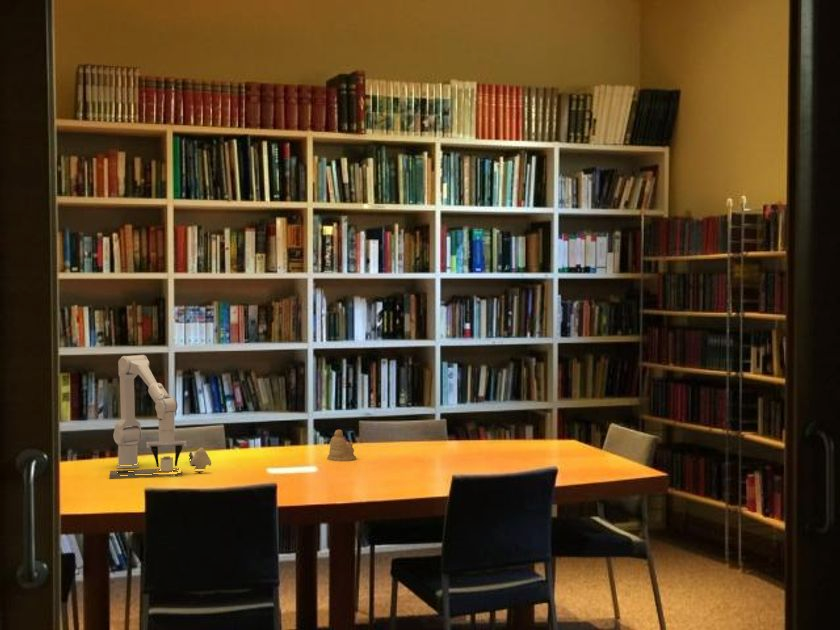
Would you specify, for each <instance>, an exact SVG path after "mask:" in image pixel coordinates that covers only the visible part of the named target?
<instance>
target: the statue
mask: <svg viewBox="0 0 840 630" xmlns="http://www.w3.org/2000/svg"><path fill="white" fill-rule="evenodd" d="M334 431H335V432H334V436H332V437H331V439H330V443H329V446H330V447H329V454H328V455H327V460H328V461H332V462H342V463H343V462H353V461H356V460H357V456H356V455H355V449H354V447H353V445H354V444H353V443H352V442H348V443H347V441H346V440H345V439H344V438H343V437H344V434H343V430H341V429H336V430H334Z"/></svg>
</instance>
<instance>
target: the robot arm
mask: <svg viewBox="0 0 840 630" xmlns="http://www.w3.org/2000/svg"><path fill="white" fill-rule="evenodd" d="M117 363H118V367H117V368H118V377H119V394H120V397H119V399H120V420H119V421H118V422H116V423H115V424H114V429H113V430H114V431H113V434H112V435H113V440H114V442H115V444H116V445H117V446H118V447H117V448H118V449H117V451H118V452H117V454H118V458H117V461H118V463H117V466H116V468H117V469H135V468H137V469H138V468H139V467H140V465H139V463H140V462H138V460H139V459H138V444H140V441H141V440H142V437H143V431H142V427H141V422H139V421H138V420H137V419H136V415H135V414H136V413H135V412H136V410H135V409H136V408H135V378H136V377H137V376H139V377H140V378H141V379H142V381H143V382H144V383H145V384H146V386H147V387H148V390H147V392H148V394H149V395H150V397H151V399H152V400H153V402H154V403H155V405H154V406H155V407H154V409H155V411H156V417H157V419H158V441H157V440H155V441H146V448H147V449H149V448H150V450H151V452H152V454H153V455H152V456H153V457H154V460H155V464H156V468H159V464H160V463H159V448H171V447H172V448H173V447H175V448H174V451H175V453H174V454H175V455H174V456H175V458H174V467H178V461H179V457H180V454H181V453H182V450H183V448H184V447H187V440H175V413H176V411H177V410H178V406H179V405H178V401H177V400H176V399H177V398H175V397H174V396H171V395H169V393H168V392H167V391H166V388H164V385H163V384H162V383H161V382H157V380H156V378H155V376H154V374H153V373H152V370H151V368H150V361H149V359H148V357H147V356H146V355H145V354H138V355H123V356H121V358H120V359H118V361H117ZM137 463H138V464H137ZM118 464H119V465H118ZM134 464H137V465H134ZM120 465H132V466H120Z"/></svg>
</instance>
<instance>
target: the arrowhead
mask: <svg viewBox="0 0 840 630" xmlns="http://www.w3.org/2000/svg"><path fill="white" fill-rule="evenodd" d="M195 452H196V453H195V454H194V456H193V458H192V460H191V462H190V461H189V466H190V467H191V465H195V466H196V467H194V470H195V469H205V470H206V467H207V466H212V460H211V458H210V456H209V454H208V453H207V451H206V450H205V449H204V447H200V448H198V449H197V451H195ZM194 472H195V473H197V472H202V473H203V472H205V471H194Z"/></svg>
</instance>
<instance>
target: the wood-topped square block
mask: <svg viewBox="0 0 840 630" xmlns="http://www.w3.org/2000/svg"><path fill="white" fill-rule="evenodd" d="M173 468H174V457H171V456H169V455H167V456H165V455H164V456H163V457H160V469H161V472H172V471H173Z"/></svg>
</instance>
